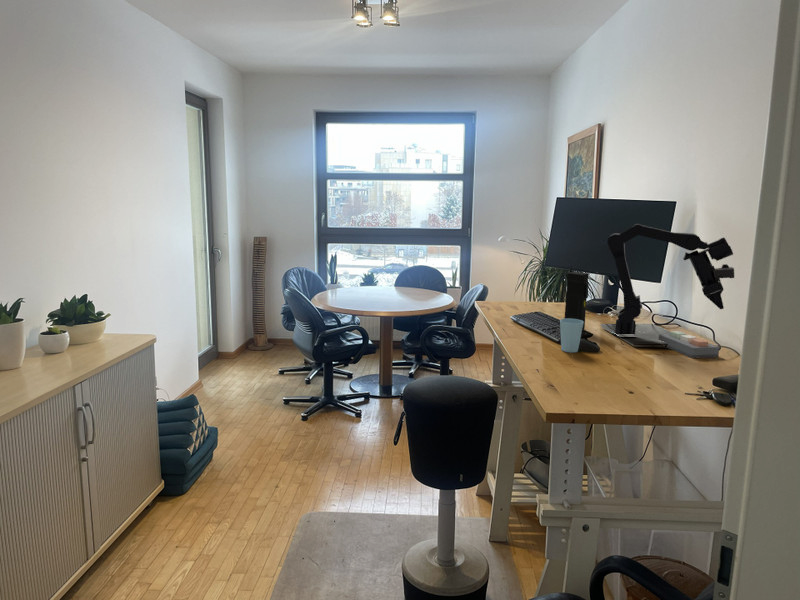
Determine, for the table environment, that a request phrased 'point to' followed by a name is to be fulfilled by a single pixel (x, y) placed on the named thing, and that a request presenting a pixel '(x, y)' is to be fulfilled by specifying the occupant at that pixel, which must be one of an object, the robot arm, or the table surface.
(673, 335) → the sage key
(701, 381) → the table surface
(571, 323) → the cup
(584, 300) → the portable radio
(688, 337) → the cream key
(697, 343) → the terracotta key
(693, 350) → the keypad
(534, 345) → the table surface
